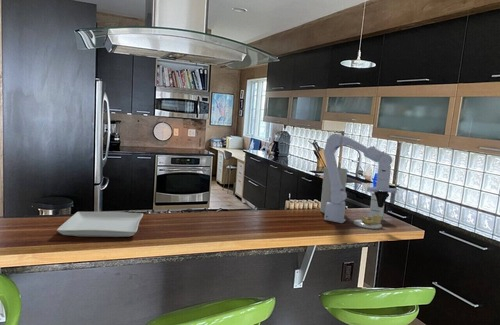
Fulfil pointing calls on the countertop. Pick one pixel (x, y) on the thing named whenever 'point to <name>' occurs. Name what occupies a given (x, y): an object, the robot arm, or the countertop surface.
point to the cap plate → (367, 225)
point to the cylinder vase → (327, 186)
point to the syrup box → (375, 207)
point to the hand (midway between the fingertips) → (380, 207)
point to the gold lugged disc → (371, 221)
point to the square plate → (101, 224)
